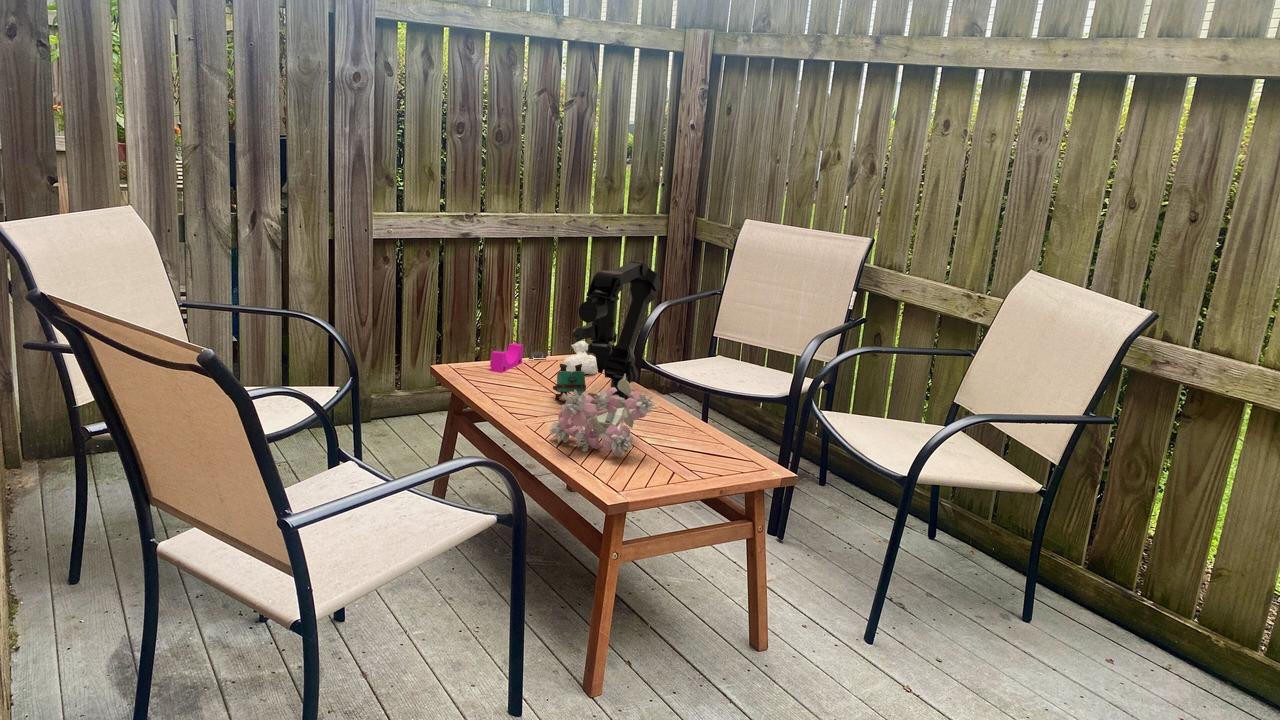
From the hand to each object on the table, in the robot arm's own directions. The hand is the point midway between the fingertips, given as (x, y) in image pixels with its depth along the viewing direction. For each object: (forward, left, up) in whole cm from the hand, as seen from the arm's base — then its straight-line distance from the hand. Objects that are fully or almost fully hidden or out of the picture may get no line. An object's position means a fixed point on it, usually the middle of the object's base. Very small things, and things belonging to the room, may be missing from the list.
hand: (600, 371), depth 273 cm
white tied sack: (-34, -9, -11) cm, 37 cm away
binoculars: (-9, -11, -7) cm, 16 cm away
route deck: (+13, 0, -11) cm, 17 cm away
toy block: (-32, -34, -12) cm, 48 cm away
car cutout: (-47, -22, -12) cm, 53 cm away
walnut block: (+7, 0, -9) cm, 12 cm away
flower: (+25, +15, 0) cm, 29 cm away
